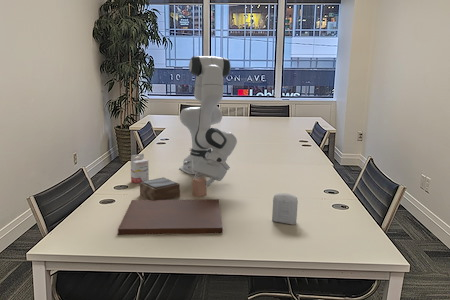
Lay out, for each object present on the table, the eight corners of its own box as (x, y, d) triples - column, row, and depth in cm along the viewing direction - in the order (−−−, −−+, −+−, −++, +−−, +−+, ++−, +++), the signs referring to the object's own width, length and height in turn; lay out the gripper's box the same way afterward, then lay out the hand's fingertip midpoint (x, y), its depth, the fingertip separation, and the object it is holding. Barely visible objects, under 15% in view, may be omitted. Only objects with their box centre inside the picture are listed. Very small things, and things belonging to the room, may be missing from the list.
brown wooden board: (222, 235, 159) (219, 205, 191) (222, 227, 158) (219, 199, 190) (118, 236, 157) (132, 206, 189) (117, 229, 156) (131, 200, 188)
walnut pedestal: (140, 195, 202) (139, 181, 200) (164, 189, 211) (163, 176, 209) (155, 202, 192) (154, 188, 190) (179, 196, 201) (179, 182, 199)
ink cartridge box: (135, 183, 220) (134, 157, 217) (130, 181, 224) (129, 155, 221) (149, 180, 226) (148, 154, 223) (144, 178, 230) (143, 153, 227)
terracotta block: (192, 194, 204) (192, 179, 202) (200, 192, 207) (200, 177, 205) (198, 197, 200) (198, 181, 198) (206, 195, 203) (206, 179, 202)
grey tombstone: (297, 221, 171) (299, 193, 168) (295, 225, 167) (296, 196, 164) (273, 218, 175) (274, 190, 172) (270, 221, 171) (271, 193, 168)
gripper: (199, 153, 212) (184, 175, 208) (225, 161, 197) (209, 184, 193) (206, 160, 216) (191, 181, 212) (232, 168, 201) (216, 191, 197)
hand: (200, 183), depth 202 cm, fingers open, 8 cm apart
